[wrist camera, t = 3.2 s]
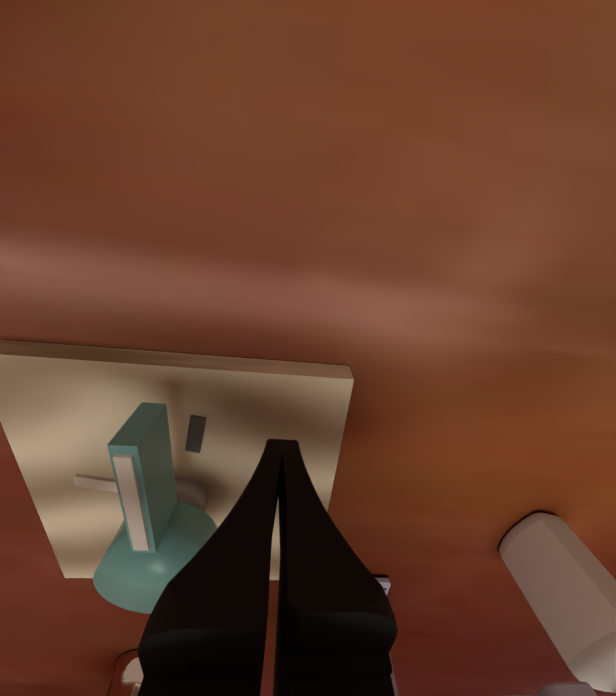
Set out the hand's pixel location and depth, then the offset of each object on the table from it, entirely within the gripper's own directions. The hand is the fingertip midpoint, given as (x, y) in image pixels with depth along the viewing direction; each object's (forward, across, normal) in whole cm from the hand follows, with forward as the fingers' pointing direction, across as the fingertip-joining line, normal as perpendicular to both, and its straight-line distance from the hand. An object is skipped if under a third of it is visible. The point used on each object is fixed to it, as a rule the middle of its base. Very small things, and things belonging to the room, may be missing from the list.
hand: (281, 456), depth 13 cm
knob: (+1, +6, +3) cm, 7 cm away
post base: (+4, +6, +6) cm, 10 cm away
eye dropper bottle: (+5, -20, +11) cm, 24 cm away
